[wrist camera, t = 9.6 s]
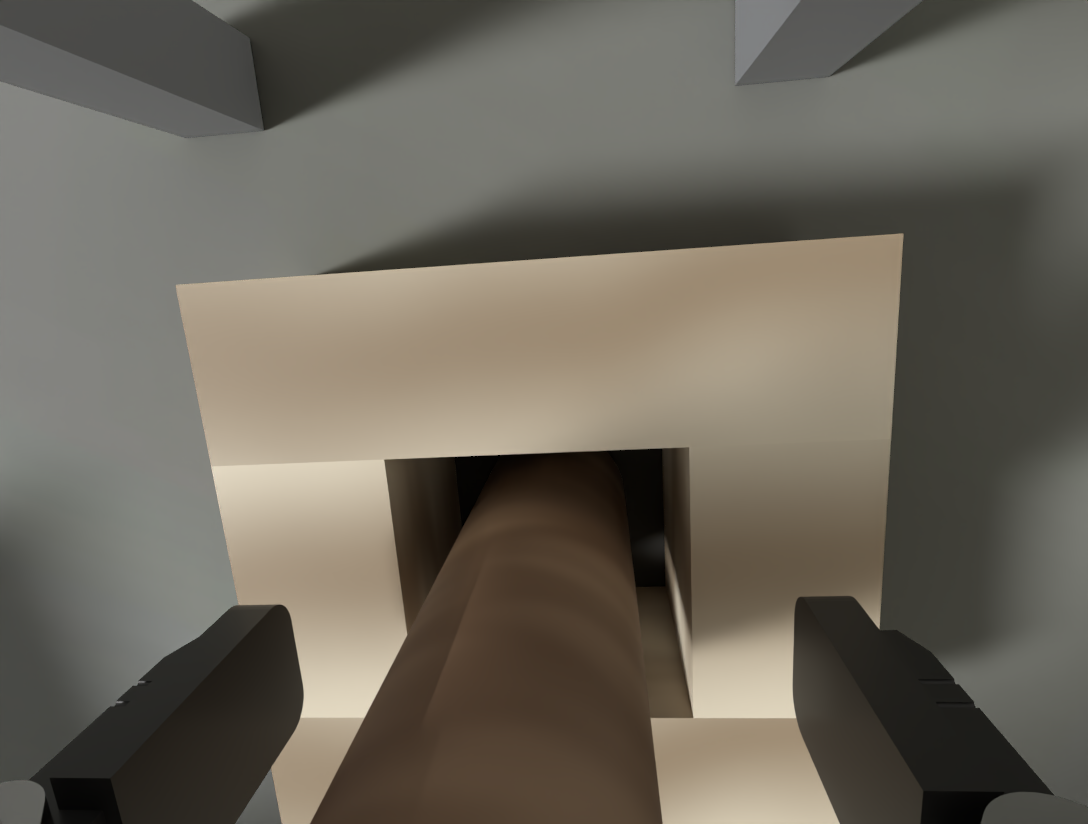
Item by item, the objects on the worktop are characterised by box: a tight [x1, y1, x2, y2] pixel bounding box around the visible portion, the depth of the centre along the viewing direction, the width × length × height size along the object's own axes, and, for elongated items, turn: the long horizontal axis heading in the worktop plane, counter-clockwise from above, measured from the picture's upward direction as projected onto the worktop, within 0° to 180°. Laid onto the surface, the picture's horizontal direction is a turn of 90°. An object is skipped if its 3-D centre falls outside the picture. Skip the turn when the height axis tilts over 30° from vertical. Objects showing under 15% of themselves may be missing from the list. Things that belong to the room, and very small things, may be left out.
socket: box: [176, 233, 904, 824], centre depth 14 cm, size 12×12×5 cm
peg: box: [310, 451, 663, 824], centre depth 11 cm, size 4×4×12 cm
